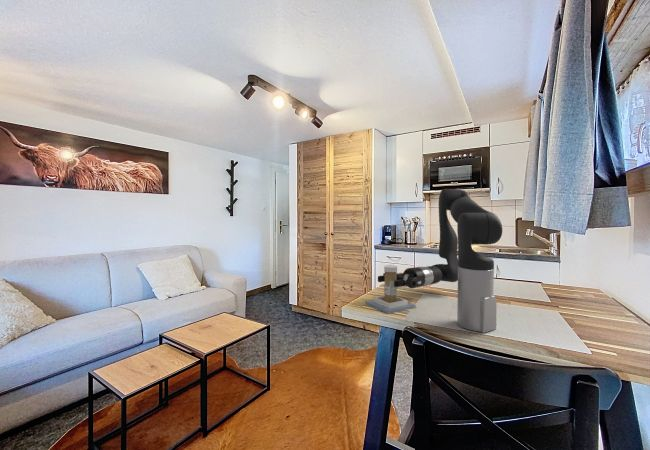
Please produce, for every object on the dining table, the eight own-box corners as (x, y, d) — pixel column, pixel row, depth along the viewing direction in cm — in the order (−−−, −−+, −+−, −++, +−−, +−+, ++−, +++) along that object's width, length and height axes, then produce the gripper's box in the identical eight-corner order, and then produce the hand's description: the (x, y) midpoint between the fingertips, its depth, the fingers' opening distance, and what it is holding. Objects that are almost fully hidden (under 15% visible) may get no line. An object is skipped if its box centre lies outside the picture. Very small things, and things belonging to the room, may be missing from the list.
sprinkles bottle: (381, 301, 101) (382, 265, 101) (393, 300, 102) (393, 264, 102) (387, 305, 97) (387, 267, 96) (399, 304, 98) (399, 266, 97)
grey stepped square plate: (415, 307, 97) (415, 300, 97) (387, 313, 91) (387, 306, 91) (391, 298, 108) (392, 292, 108) (365, 303, 102) (365, 297, 101)
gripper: (404, 264, 112) (373, 267, 104) (433, 270, 100) (400, 274, 92) (404, 282, 113) (373, 287, 105) (433, 290, 100) (400, 297, 92)
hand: (386, 281), depth 98 cm, fingers open, 8 cm apart
